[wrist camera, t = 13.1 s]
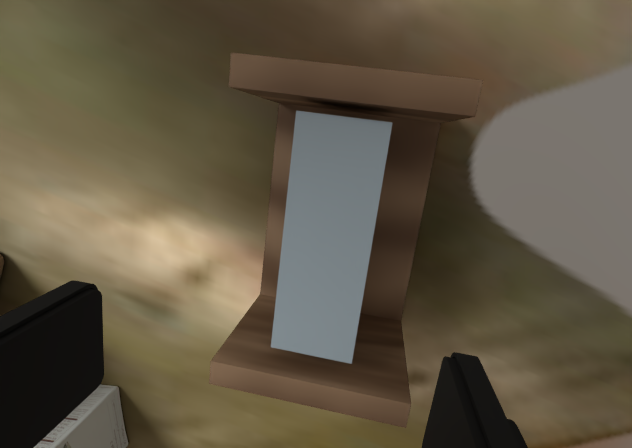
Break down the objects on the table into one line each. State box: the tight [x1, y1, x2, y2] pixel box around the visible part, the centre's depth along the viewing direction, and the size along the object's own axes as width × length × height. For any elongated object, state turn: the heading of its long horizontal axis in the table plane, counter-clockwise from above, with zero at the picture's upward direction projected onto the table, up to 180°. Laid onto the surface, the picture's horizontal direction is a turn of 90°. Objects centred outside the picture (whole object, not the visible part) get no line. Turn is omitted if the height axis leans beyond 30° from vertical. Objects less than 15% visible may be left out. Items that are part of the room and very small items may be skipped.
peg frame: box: [209, 53, 483, 428], centre depth 26 cm, size 19×12×11 cm, turn 173°
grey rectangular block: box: [271, 111, 392, 364], centre depth 24 cm, size 14×5×6 cm, turn 173°
